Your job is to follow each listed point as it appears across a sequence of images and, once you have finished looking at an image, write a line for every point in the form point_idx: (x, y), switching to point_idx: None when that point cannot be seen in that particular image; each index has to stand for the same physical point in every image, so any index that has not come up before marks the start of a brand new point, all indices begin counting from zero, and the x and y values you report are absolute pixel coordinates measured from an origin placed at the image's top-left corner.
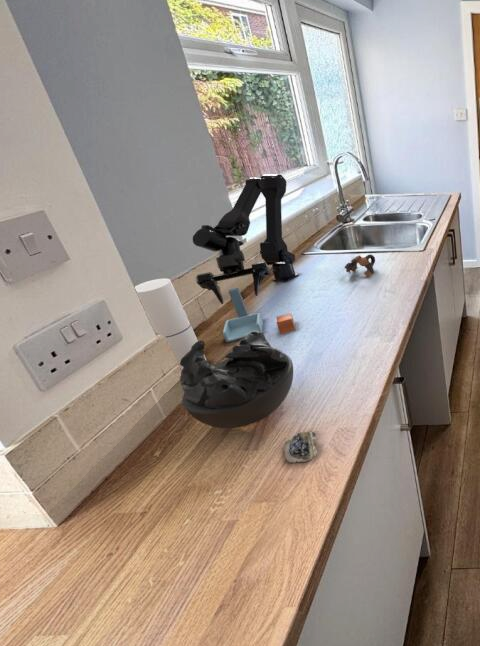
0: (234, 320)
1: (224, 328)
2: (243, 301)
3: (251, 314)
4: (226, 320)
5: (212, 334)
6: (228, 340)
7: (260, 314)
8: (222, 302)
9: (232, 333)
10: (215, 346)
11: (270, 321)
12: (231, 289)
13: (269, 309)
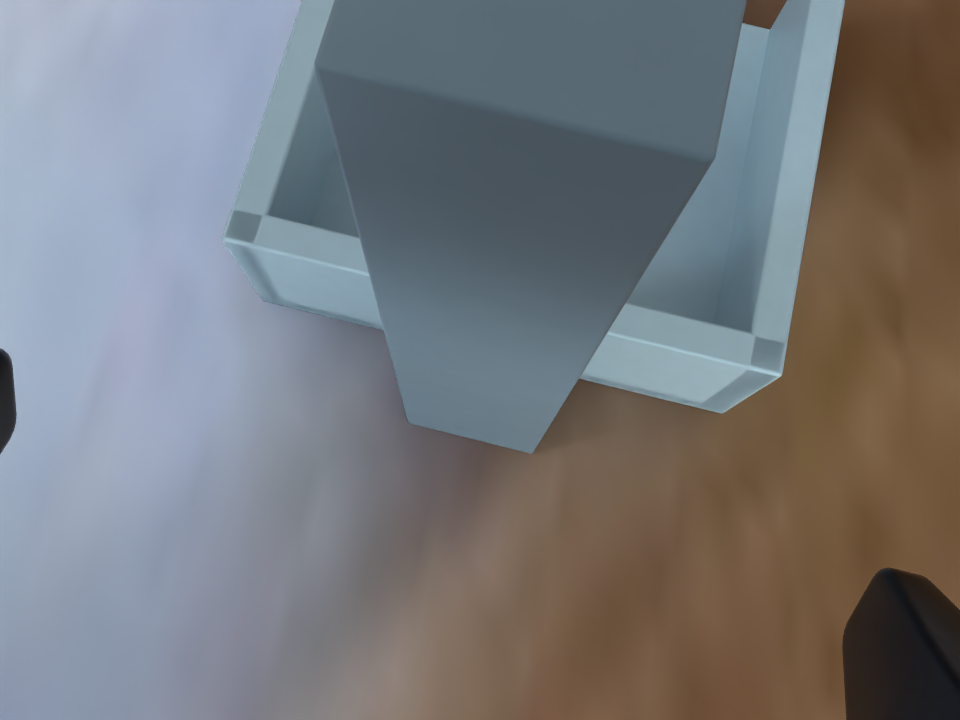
0: (647, 311)
1: (823, 80)
2: (377, 303)
3: (361, 257)
4: (772, 363)
5: (952, 447)
6: (769, 29)
7: (233, 254)
8: (876, 593)
9: (703, 185)
10: (918, 55)
11: (181, 199)
12: (613, 93)
13: (41, 674)
